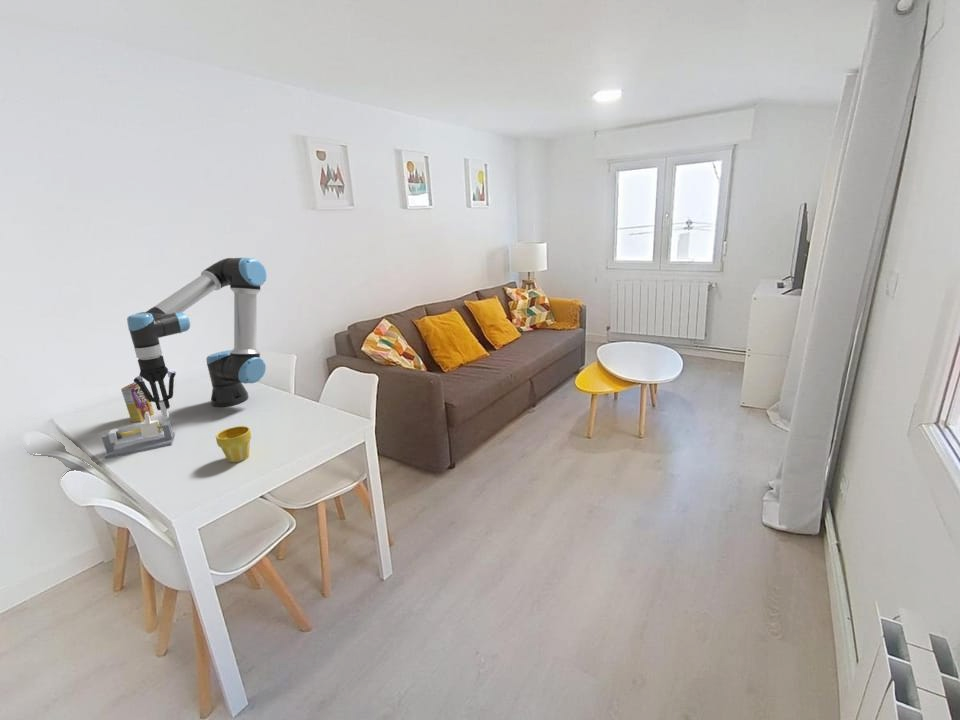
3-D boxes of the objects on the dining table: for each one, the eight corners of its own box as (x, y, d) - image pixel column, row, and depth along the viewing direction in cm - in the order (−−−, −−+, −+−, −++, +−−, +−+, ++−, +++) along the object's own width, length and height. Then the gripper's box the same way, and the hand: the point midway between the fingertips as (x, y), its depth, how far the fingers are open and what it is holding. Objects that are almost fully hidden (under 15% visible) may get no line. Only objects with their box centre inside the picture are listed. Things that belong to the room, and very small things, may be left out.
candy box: (144, 413, 199) (135, 381, 195) (154, 413, 199) (145, 380, 195) (130, 422, 191) (120, 388, 186) (140, 421, 191) (131, 387, 186)
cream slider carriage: (160, 430, 173) (155, 410, 170) (159, 434, 169) (153, 414, 166) (145, 433, 171) (139, 412, 168) (142, 438, 167) (136, 417, 164)
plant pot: (229, 451, 162) (224, 426, 159) (259, 449, 163) (254, 424, 160) (216, 466, 152) (209, 440, 149) (248, 464, 153) (242, 438, 150)
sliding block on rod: (175, 434, 178) (170, 416, 175) (171, 444, 169) (166, 425, 167) (112, 447, 169) (106, 428, 167) (105, 458, 161) (98, 438, 158)
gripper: (172, 351, 169) (187, 409, 176) (130, 357, 164) (147, 417, 171) (170, 356, 163) (185, 416, 170) (125, 362, 157) (143, 424, 164)
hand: (166, 417), depth 170 cm, fingers closed
